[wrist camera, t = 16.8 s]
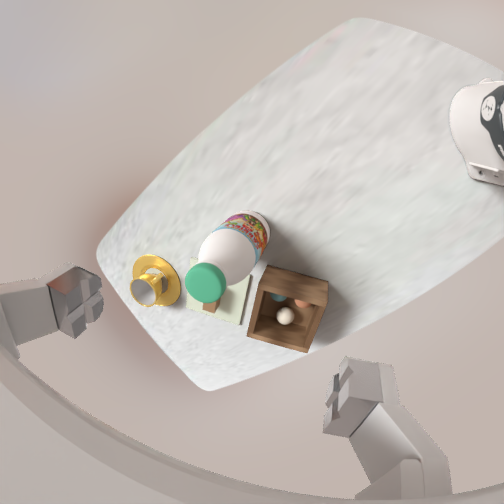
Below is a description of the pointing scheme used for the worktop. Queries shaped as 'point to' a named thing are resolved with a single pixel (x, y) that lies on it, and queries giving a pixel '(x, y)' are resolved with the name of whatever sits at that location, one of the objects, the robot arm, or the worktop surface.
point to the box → (305, 319)
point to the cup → (154, 282)
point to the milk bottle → (228, 256)
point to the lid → (222, 301)
